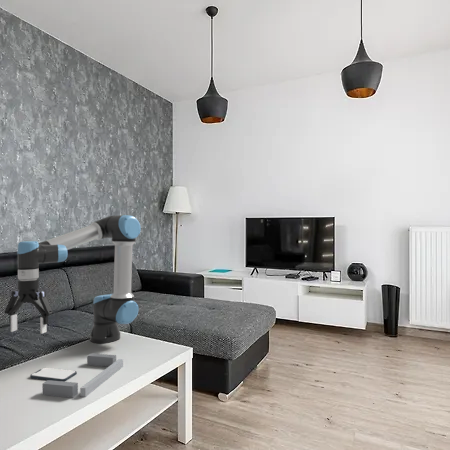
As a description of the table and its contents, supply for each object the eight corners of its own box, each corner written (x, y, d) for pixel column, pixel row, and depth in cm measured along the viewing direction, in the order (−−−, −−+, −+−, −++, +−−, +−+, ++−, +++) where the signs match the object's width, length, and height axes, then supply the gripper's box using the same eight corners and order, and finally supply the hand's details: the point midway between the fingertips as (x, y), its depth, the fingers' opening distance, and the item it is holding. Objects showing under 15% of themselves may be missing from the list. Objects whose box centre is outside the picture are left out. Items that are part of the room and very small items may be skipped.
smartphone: (78, 374, 152) (44, 370, 155) (78, 370, 151) (44, 366, 155) (64, 384, 143) (28, 379, 147) (64, 379, 143) (28, 375, 147)
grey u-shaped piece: (91, 362, 163) (91, 353, 163) (124, 365, 159) (124, 355, 159) (42, 394, 132) (42, 383, 132) (83, 398, 129) (82, 387, 129)
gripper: (-6, 280, 150) (-6, 332, 150) (49, 281, 145) (50, 336, 145) (8, 277, 157) (8, 327, 157) (61, 278, 152) (62, 330, 152)
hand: (28, 331), depth 151 cm, fingers open, 13 cm apart
